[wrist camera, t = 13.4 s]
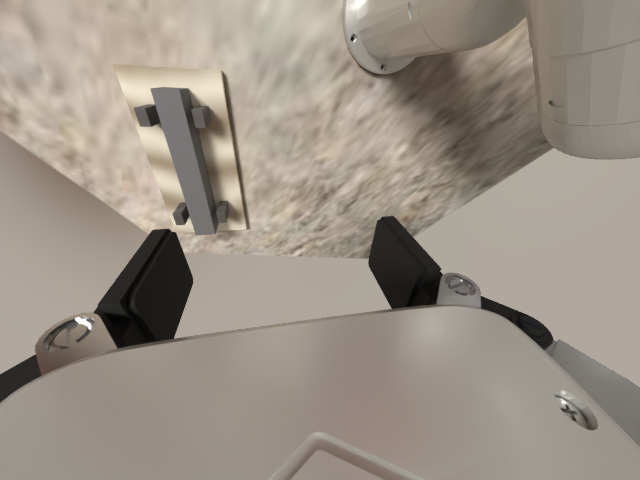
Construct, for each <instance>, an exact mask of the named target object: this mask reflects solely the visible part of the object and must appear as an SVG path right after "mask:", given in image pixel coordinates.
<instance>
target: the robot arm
mask: <svg viewBox="0 0 640 480" xmlns="http://www.w3.org/2000/svg"><path fill="white" fill-rule="evenodd" d="M525 17H526V19H527V25H528V32H529V42H530V47H531V49H532V55H533V65H534V75H535V85H536V96H537V106H538V114H539V120H540V125H541V129H542V132H543V134H544V136H545V138H546V140H547V141H548V142H549V143H550V144H551V145H552V146H553V147H554V148H556V149H557V150H559V151H561V152H563V153H566V154H568V155H571V156H576V157H582V158H589V159H627V158H638V157H640V0H344V3H343V29H344V34H345V39H346V42H347V45H348V48H349V50H350V52H351V54H352V56H353V57H354V59H355V60H356V61H357V62H358V63H359V65H360V66H362V67H363V68H364V69H366V70H367V71H370V72H372V73H376V74H390V73H394V72H397V71H399V70H401V69H403V68H405V67H406V66H407V65H409V64H410V63H411V62H412V61H413V60H414V59H415V58H416V57H419V56H427V55H435V54H443V53H451V52H459V51H466V50H472V49H476V48H480V47H483V46H485V45H488V44H490V43H492V42H494V41H496V40H497V39H499V38H500V37H502V36H503V35H505V34H506V33H508V32H509V31H511V30H512V29H513V28H514V27H516V26H517V25H518V24H519V23H520V22H521V21H522V20H523V19H524V18H525ZM351 37H353V39H354V40H353V42H352V41H351ZM381 65H382V69H381ZM369 267H370V269H371V271H372V273H373V275H374V276H375V278H376V280H377V282H378V284H379V286H380V288H381V290H382V291H383V293H384V295H385V297H386V299H387V301H388V303H389V304H390V306H391V308H392V309H388V310H381V311H374V312H373V311H372V312H365V313H357V314H350V315H342V316H334V317H327V318H319V319H311V320H305V321H297V322H290V323H282V324H275V325H267V326H260V327H253V328H246V329H238V330H231V331H224V332H217V333H210V334H203V335H196V336H190V337H183V338H177V339H174V336H175V333H176V330H177V327H178V325H179V322H180V319H181V316H182V313H183V310H184V308H185V305H186V302H187V299H188V296H189V293H190V291H191V288H192V285H193V277H192V274H191V271H190V269H189V266H188V264H187V261H186V258H185V255H184V253H183V250H182V248H181V245H180V242H179V240H178V237H177V234H176V233H175V232H171V230H170V229H158V230H152V231H151V233H150V234H149V236H148V237H147V238H146V240H145V241H144V242H143V244H142V245H141V247H140V248H139V249H138V251H137V252H136V253H135V255H134V256H133V257H132V259H131V260H130V261H129V263H128V264H127V266H126V267H125V268H124V270H123V271H122V272H121V274H120V275H119V276H118V278H117V279H116V281H115V282H114V283H113V285H112V286H111V287H110V289H109V290H108V291H107V293H106V294H105V296H104V297H103V298H102V300H101V301H100V302H99V304H98V307H97V309H96V310H95V311H94V313H81V314H78V315H74V316H71V317H69V318H66V319H64V320H62V321H60V322H58V323H57V324H55V325H54V326H53V327H51V328H50V329H48V330H47V331H46V332H45V333H44V334H43V335H42V336H41V337H40V338H39V340H38V341H37V343H36V345H35V353H36V355H34V356H32V357H30V358H29V359H27V360H25V361H23V362H21V363H20V364H18V365H16V366H14V367H13V368H11V369H9V370H7V371H5V372H4V373H2V374H0V480H640V387H638V386H637V385H635V384H634V383H632V382H631V381H629V380H628V379H626V378H624V377H623V376H621V375H619V374H618V373H616V372H614V371H612V370H611V369H609V368H607V367H606V366H604V365H602V364H601V363H599V362H597V361H596V360H594V359H592V358H590V357H589V356H587V355H585V354H584V353H582V352H580V351H578V350H577V349H575V348H573V347H572V346H570V345H568V344H567V343H565V342H563V341H561V340H558V341H557V342H556V341H554V340H553V337H552V335H551V333H550V331H549V330H548V329H547V328H546V327H545V326H544V325H543V324H542V323H540V322H539V321H538V320H536V319H534V318H533V317H530V316H528V315H526V314H524V313H521V312H519V311H517V310H514V309H512V308H509V307H507V306H504V305H502V304H499V303H497V302H494V301H492V300H490V299H487V298H485V297H482V296H481V292H480V289H479V287H478V286H477V284H475V282H473V281H472V280H471V279H469V278H467V277H466V276H463V275H461V274H456V273H447V274H444V275H443V274H442V273H441V272H440V270H441V268H440V267H439V266H438V265H437V263H436V262H435V261H434V260H433V259H432V258H431V257H430V256H429V255H428V253H427V252H426V251H425V250H424V249H423V248H422V247H421V246H420V245H419V243H418V242H417V241H416V240H415V239H414V238H413V237H412V236H411V235H410V234H409V232H408V231H407V230H406V229H405V228H404V227H403V226H402V225H401V224H400V223H399V221H398V220H397V219H396V218H395V217H394V216H388V217H381V219H380V220H378V221H377V225H376V229H375V234H374V238H373V243H372V247H371V252H370V256H369Z"/></svg>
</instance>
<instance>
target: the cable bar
mask: <svg viewBox="0 0 640 480" xmlns="http://www.w3.org/2000/svg"><path fill="white" fill-rule="evenodd" d="M150 90H151V93H152V96H153V99H154V103H155V106H156V109H157V112H158V115H159V119H160V122H161V125H162V128H163V131H164V135H165V138H166V141H167V144H168V148H169V151H170V154H171V157H172V160H173V164H174V167H175V170H176V173H177V176H178V180H179V183H180V186H181V189H182V193H183V196H184V199H185V202H186V205H187V209H188V212H189V215H190V218H191V222H192V225H193V228H194V231H195V234H196V235H209V234H216V231H217V227H218V224H219V222H218V218H217V214H216V211H217V210H216V205H215V201H214V197H213V192H212V188H211V184H210V179H209V175H208V171H207V166H206V162H205V158H204V153H203V149H202V145H201V140H200V136H199V132H198V128H196V127H195V123H194V119H193V115H192V111H191V109H193V106H192V101H191V97H190V93H189V88H172V87H159V88H150Z"/></svg>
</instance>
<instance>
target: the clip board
mask: <svg viewBox="0 0 640 480" xmlns="http://www.w3.org/2000/svg"><path fill="white" fill-rule="evenodd" d="M113 67H114V69H115V72H116V75H117V77H118V80H119V82H120V85H121V88H122V90H123V93H124V96H125V98H126V101H127V104H128V106H129V109H130V112H131V114H132V117H133V120H134V122H135V125H136V128H137V130H138V133H139V136H140V138H141V141H142V144H143V146H144V149H145V151H146V154H147V157H148V159H149V162H150V165H151V167H152V170H153V173H154V175H155V178H156V181H157V183H158V186H159V189H160V191H161V194H162V197H163V199H164V202H165V205H166V207H167V210H168V213H169V215H170V218H171V220H172V223H173V226H174V228H175V231H176V234H179V233H195V231H194V228H193V225H192V222H191V218H190V215H189V212H188V209H187V205H186V202H185V199H184V196H183V193H182V189H181V186H180V183H179V180H178V176H177V173H176V170H175V167H174V164H173V160H172V157H171V154H170V151H169V148H168V144H167V141H166V138H165V135H164V131H163V128H162V125H161V122H160V119H159V115H158V112H157V109H156V106H155V103H154V99H153V96H152V93H151V90H150V88H159V87H172V88H189V93H190V97H191V101H192V106H193V109H191V111H192V115H193V119H194V123H195V127H196V128H198V132H199V136H200V140H201V145H202V149H203V153H204V158H205V162H206V166H207V171H208V175H209V179H210V184H211V188H212V192H213V197H214V201H215V205H216V210H217V211H216V214H217V218H218V222H219V224H218V227H217V231H228V230H245V229H247V224H246V218H245V212H244V205H243V199H242V193H241V187H240V181H239V174H238V168H237V162H236V156H235V150H234V143H233V137H232V131H231V125H230V119H229V112H228V106H227V100H226V94H225V87H224V81H223V75H222V71H218V70H201V69H184V68H167V67H150V66H133V65H115V64H113Z"/></svg>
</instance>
